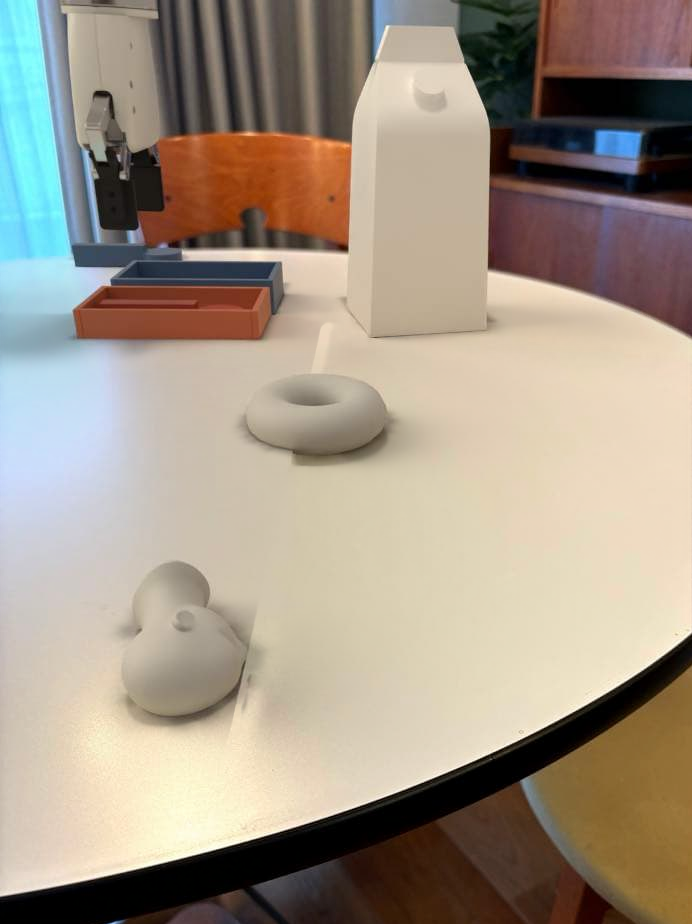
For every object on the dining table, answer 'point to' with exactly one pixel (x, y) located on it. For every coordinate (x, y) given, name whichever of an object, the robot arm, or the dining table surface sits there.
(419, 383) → the dining table surface
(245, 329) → the tray red
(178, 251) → the blue spoon
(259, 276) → the tray blue
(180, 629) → the pale two-lobed sculpture
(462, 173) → the milk
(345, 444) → the donut
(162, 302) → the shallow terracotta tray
